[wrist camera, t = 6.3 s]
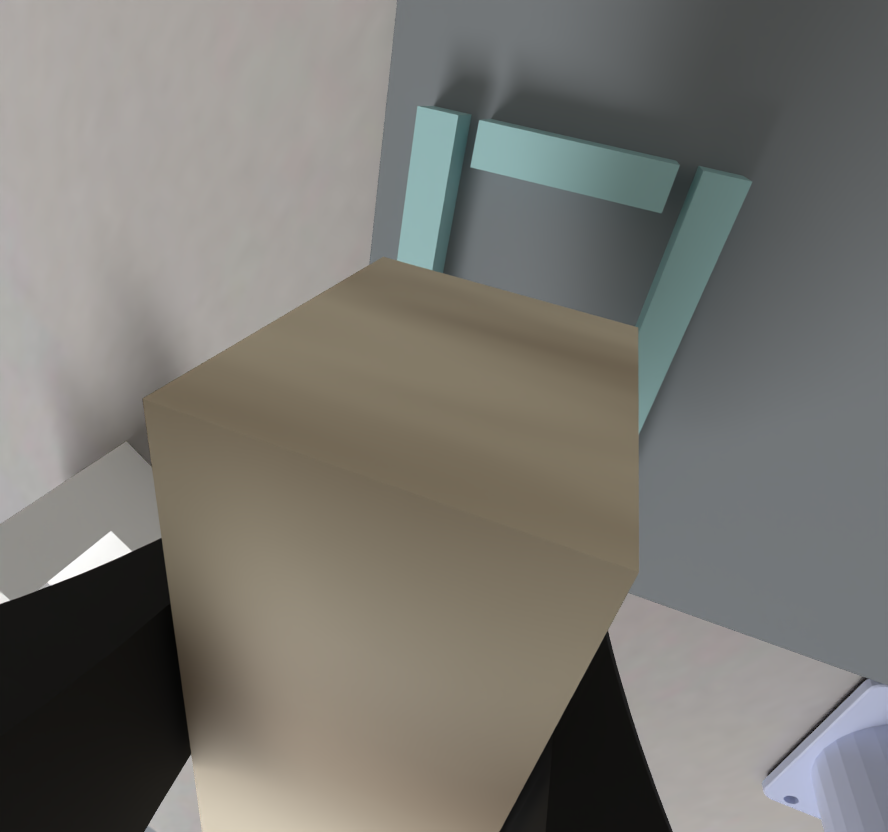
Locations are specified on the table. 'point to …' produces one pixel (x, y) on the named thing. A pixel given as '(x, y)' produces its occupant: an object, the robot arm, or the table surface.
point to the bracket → (80, 524)
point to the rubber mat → (729, 286)
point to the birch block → (393, 548)
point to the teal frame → (587, 174)
